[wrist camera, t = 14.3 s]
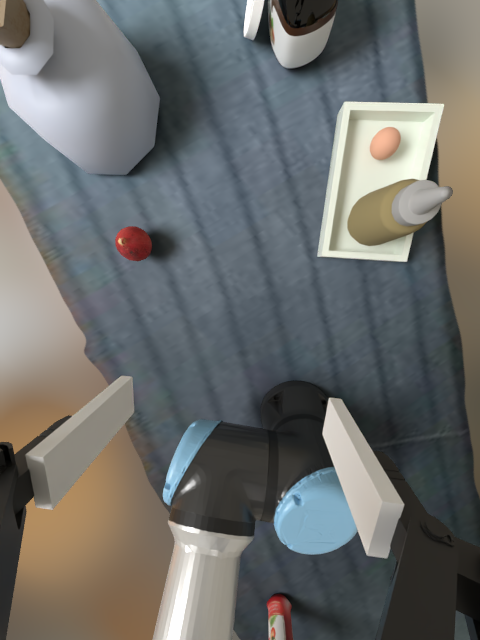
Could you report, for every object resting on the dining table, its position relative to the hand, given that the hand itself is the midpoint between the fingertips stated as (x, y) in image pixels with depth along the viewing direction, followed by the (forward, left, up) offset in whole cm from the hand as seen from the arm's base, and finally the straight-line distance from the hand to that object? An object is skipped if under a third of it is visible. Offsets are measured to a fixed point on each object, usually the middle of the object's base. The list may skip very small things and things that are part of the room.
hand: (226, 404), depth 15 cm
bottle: (+32, +27, -32) cm, 53 cm away
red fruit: (+11, +21, -32) cm, 40 cm away
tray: (+22, -19, -32) cm, 43 cm away
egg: (+28, -19, -31) cm, 46 cm away
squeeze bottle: (+17, -19, -31) cm, 40 cm away
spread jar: (+43, -2, -32) cm, 54 cm away
